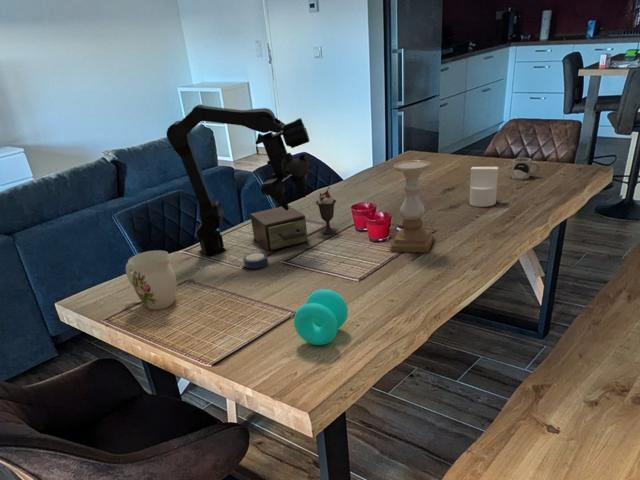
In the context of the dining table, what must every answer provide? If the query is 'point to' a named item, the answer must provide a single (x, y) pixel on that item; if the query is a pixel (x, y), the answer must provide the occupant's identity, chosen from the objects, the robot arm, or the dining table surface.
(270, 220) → the cabinet
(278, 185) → the robot arm
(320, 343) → the teal spool
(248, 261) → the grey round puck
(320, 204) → the sundae
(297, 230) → the drawer
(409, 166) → the candle holder
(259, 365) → the dining table surface
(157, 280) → the pitcher
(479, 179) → the cylinder with rectangular tab
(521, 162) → the mug
